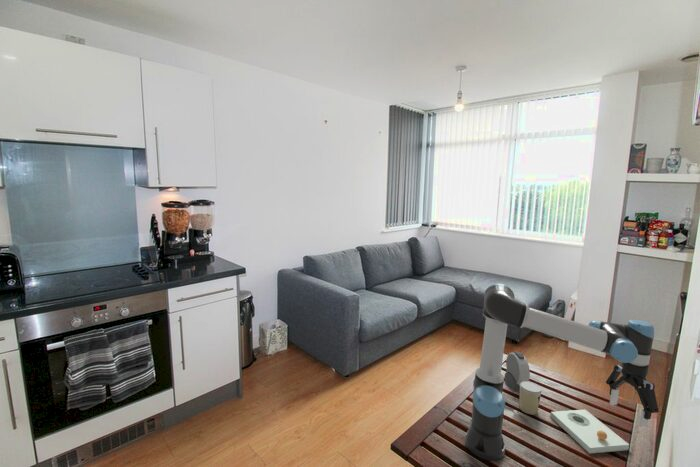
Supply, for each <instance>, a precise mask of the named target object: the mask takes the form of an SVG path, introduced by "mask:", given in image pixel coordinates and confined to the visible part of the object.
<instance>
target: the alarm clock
mask: <svg viewBox="0 0 700 467" xmlns="http://www.w3.org/2000/svg"><path fill="white" fill-rule="evenodd" d="M505 362H506V363H505V364H506V365H505V368H506V372H505V373H504V376H503V377H504V382H505V384H506V385H507V386H508V388H509V389H511V390H512V391H514V392H520V383H521V382H523V381H529V382H530V378H531V377H530V375H531V372H530V365H529V362H528V359H527V358H526V356H525V355H524V354H523V352H521V351H517V350H515V351H513V352H510V353H508V355H507V356H506V360H505Z"/></svg>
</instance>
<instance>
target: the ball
mask: <svg viewBox="0 0 700 467" xmlns="http://www.w3.org/2000/svg"><path fill="white" fill-rule="evenodd" d="M597 436H598V438H599V439H601V440H606V439H607V434H606V433H605V432H604V431H602V430H599V431H598V432H597Z"/></svg>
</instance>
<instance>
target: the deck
mask: <svg viewBox="0 0 700 467" xmlns="http://www.w3.org/2000/svg"><path fill="white" fill-rule="evenodd" d="M550 418H551V419H552V420H553V421H554V422H555V423H556V424H557V425H558V426H560V427H561V428H562V429H563V430H564V431H565V432H566V433H567V434H568V435H570V437H571V438H572V439H573V440H574V441H576V442H577V443H578V444H579V445H580V446H581V447H582V449H584V450H585V451H586V452H587V453H588V454H596V453H610V452H620V451H621V452H622V451H629V449H630V443H628V442H627V441H625V440H624V439H623V438H622V437H620V436H619V435H618V434H616V433H615V431H613V430H612V429H611V428H609V427H608V426H607V425H606V424H604V423H603V422H602V421H601V420H599V419H598V418H597V417H595V415H594V414H592V413H590V412H589V411H588V410H587V409H575V410H574V409H572V410H558V411H557V410H556V411H550ZM599 430H602V431H604V432H605V433H606V434H607V439H606V440H601V439H599V438H598V436H597V432H598V431H599Z"/></svg>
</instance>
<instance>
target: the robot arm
mask: <svg viewBox="0 0 700 467" xmlns="http://www.w3.org/2000/svg"><path fill="white" fill-rule="evenodd" d="M483 298H484V302H483V308H482V315H483V316H484V318H485V323H484V324H485V325H484V332H483V340H482V347H481V348H482V349H481V356H480V357H481V358H480V362H479V364H480V365H479V368H476V370H475V374H474V375H475V376H474V379H473V385H472V387H473V393H472V395H473V396H472V408H471V409H472V411H471V421H470V422H471V423H470V426H469V427H468V430H467V432H466V433H465V441H464V442H465V443H464V444H465V446H466V448H467V449H468V450H469V451H470V452H471V453H472V454H473V455H474V456H477V458H480V459H481V460H482V459H483V460H486V461H493V462H494V461H499V460H501V459H503V457H505V452H506V451H505V450H506V445H505V442H504V438H503V434H502V433H503V425H504V424H503V423H504V414H505V408H506V402H505V397H504V395H503V389H504V382H505V380H504V377H505V376H503V374H502V369H503V368H502V367H503V359H504V353H505V352H504V351H505V345H506V338H507V330H508V326H512V327H514V328H518V329H522V328H527V329H529V330H533V331H535V332H540V333H543V334H545V335H547V336H548V335H549V336H551V337H554V338H556V339H557V338H558V339H561V340H564V341H567V342H570V343H573V344H576V345H579V346H582V347H585V348H587V349H588V348H589V349H591V350H595V351H598V352H601V353H604V354H606V355H610V357H612V358H613V359H614V360H616V361H618V362H620V363H621V364H620V365H619V364H617V365H616V364H615V365H614V366H613V370H612V372H611V373H610V374H609V376H608V378H607V379H606V381H605V384H606V385H608V386H609V395H610V398H609V405H610V406H615V405H616V406H617V405H618V400H619V395H620V389H619V387H620V386H622V385H624V384H629V385H631V386H632V387H633V388H634V390H635V391H636V392H637V394H638V397H639V400H640V402H641V405H642V407H643V408H641V410H640V414H639V415H640V417H639V423H638V426H640V427H648V423H649V420H651V418H652V414H654V413H657V414H658V413H659V406H658V402H657V397H656V392H655V387H656V386H655V383H653V382H652V383H651V382H648V381H647V379H646V377H647V375H648V374H649V365H650V361H651V360H650V359H651V354H652V353H651V352H652V348H653V342H654V339H655V327H654V326H653V324H651V323H649V322H647V321H644V320H639V319H629V320H628V321H627V324H622V323H613V322H606V321H602V320H590V322H589V323H588V325H587V324H584V323H581V322H578V321H576V320H575V321H574V320H572V319H571V320H570V319H568V318H564V317H562V316H558V315H555V314H552V313H550V312H549V313H548V312H546V311H543V310H539V309H536V308H532V307H529V305H528V304H527V303H525V302H522V301H519V300H517V299H516V297H515V292H514V291H513V290H512V289H511V288H510V286H508V285H506V284H503V283H493V284H491V285H489V286H487V288H486V290H485V291H484V296H483ZM621 374H622V376H620V375H621ZM618 378H619V379H618Z"/></svg>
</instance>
